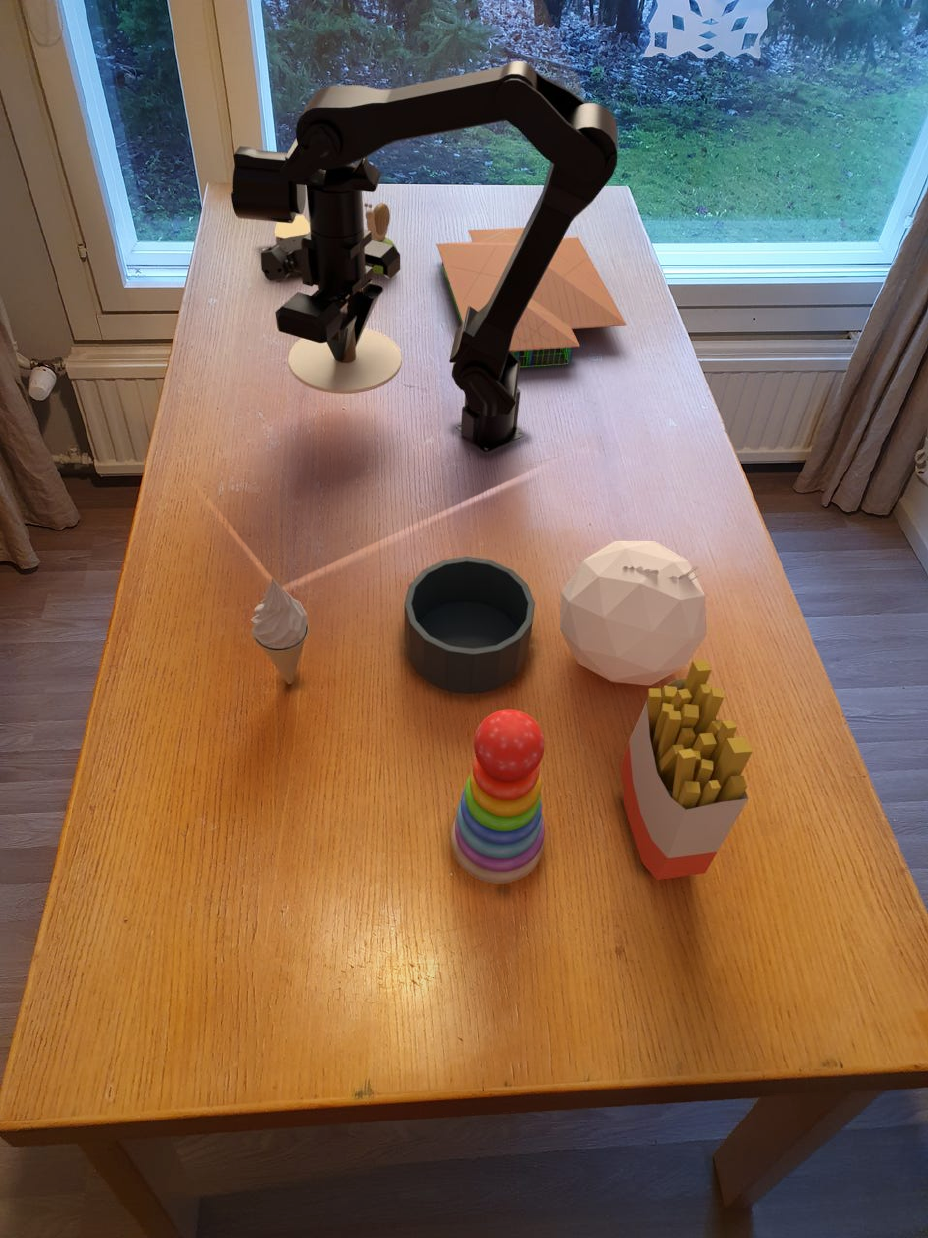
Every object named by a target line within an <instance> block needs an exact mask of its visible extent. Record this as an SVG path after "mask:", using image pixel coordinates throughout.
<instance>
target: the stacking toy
mask: <svg viewBox="0 0 928 1238" xmlns="http://www.w3.org/2000/svg"><path fill="white" fill-rule="evenodd" d="M545 744H546V743H545V737H544V733H543V731H542V729H541V727H540V726H539V724H538V722H537V721H536V720H535V719H534V718H533V717H532V716H530V715H529V714H527V713H525V712H524V711H521V710H517V709H512V708H511V709H508V708H507V709H501V710H497V711H494V712H493V713H491V714H489V715H488V716H486V717H485V718H484V719H483V720H482V722H480V724H479V725H478V727H477V729H476V731H475V734H474V738H473V751H474V757H473V761H472V769H471V771H470V774H469V776H468V777H467V780H466V781H465V784H464V788H463V790H462V793H461V796H460V800H459V802H458V806H457V812H456V816H455V818H454V820H453V821H452V824H451V828H450V835H449V837H450V838H449V841H450V847H451V850H452V851H451V852H452V853H453V856H454V858H455V860H456V861H457V864H458V865H459V866H460V867H461V868H462V869H463V870H464V871H465V872H466V873H467V874H468V875H470V876H471V877H473V878H475V879H476V880H479V881H480V882H483V883H488V884H495V885H504V884H505V885H506V884H511V883H514V882H517V881H519V880H521V879H524V878H525V877H526V876H528V875H529V874H530V873H531V872H532V871H533V870H534V869H535V868H536V867H537V865H538V864H539V862H540V860H541V858H542V855H543V853H544V850H545V836H546V824H545V820H544V816H543V804H542V788H543V782H542V775H541V766H540V763H541V761H542V760H543V757H544V753H545V746H546V745H545Z"/></svg>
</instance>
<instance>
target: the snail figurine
mask: <svg viewBox="0 0 928 1238" xmlns="http://www.w3.org/2000/svg"><path fill="white" fill-rule="evenodd" d="M363 207H365V219H366V227H367V230H368V231H372V240H375V241H379V242H383V243H386V244H390V245H393V246H394V247H395V248H396V250H397V251H398V248H397V246H396V244H395V243H394V241H392V240H391V239H390V238H388V237H386V236H387V234H388V227H389V225H390V221H391V220H390V219H391V212H390V208H389V206H388V205H387V204H386V203H384V202H380V203H378V204H377V205H375V207H374V209H373V210H372V208H373V204H371V203H369V204H368V202H365V203H363ZM367 208H369V209H367ZM373 274H375V275H378V276H379V275H380V276H381V275H383V267H381V266H378V265H375V266H374V267H373ZM383 276H384V275H383Z"/></svg>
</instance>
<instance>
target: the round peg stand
mask: <svg viewBox="0 0 928 1238" xmlns="http://www.w3.org/2000/svg"><path fill="white" fill-rule="evenodd" d="M287 363H288V368H289V370H290V372H291V374H292V376H293V377H294V378H295V379H296V380H297V381H298V382H300V383H301V384H303V385H305V386H307V387H308V388H311V389H313V390H317V391H319V392H323V393H330V394H337V395H349V394H359V393H365V392H369V391H372V390H375V389H379V388H380V387H382V386H384V385H386V384H388V383H389V382H390V381H392V380H393V379H395V377H397V374H399V372H400V370H401V368H402V363H403V355H402V351H401V349H400V347H399V346H398V344H397V343H396V342H395V341H394V340H393V339H392V338H390V336H387V335H385V334H384V333H382V332H379V331H376V330H374V329H370V328H366V327H365V328H364V330H363V333H362V335H361V337H360V339H359V342H358V344H357V346H356V345H355V327H354V328H353V331H352V335H351V339H350V342H349V346H348V349H347V353H346V356H345V359H344V360H343V361H338V360H335V359H334V357H333V355H332V353H331V350H330V348H329V346H328V344H327V342H326V343H317V342H313V341H310V340H307V339H303V338H300V339H298V340H297V341H296V342H295V343H294V344H293V345H292V347H291V348H290V350H289V353H288V355H287Z"/></svg>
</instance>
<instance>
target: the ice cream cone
mask: <svg viewBox="0 0 928 1238" xmlns="http://www.w3.org/2000/svg"><path fill="white" fill-rule="evenodd" d="M262 595H263V597H264V598H263V599H262V600H261V601H260V604H258V605H256V607H254V610H253V611H254V613H258V614H256V615H254V616H252V618H250V621H251V623H253V627H252V637H253V639H254V642H255V643H256V644H258V646H259V647H261V649H262V650H263V652H264V653H265V654H266V656H267V657H268V658H269V660H270V661H271V663H272V664H273V665H274V667H275V668H276V670H277V671H278V672H279V674H280V675H281V676H282V678H283V679H284V680H285V681H286V683H287V685H292V684H293V682H294V679H295V676H296V672H297V670H298V669H297V668H298V665H299V662H300V658H301V655H302V652H303V648H304V644H305V641H306V639H307V637H308V635H309V632H310V624H309V621H308V613H307V611H306V610H305V607H304V606H303V605H302V602H301V601H299V600H297V599H295V598H293V597H292V595H291V594H290V593H288V592H287V589H285V588H283V587H282V586H281V585H280V584H279V583H278V581H276V580H275V578H274V577H271V580H270V583H269V585H268V587H267V589H266V591H265V592H264V593H263V594H262Z"/></svg>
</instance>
